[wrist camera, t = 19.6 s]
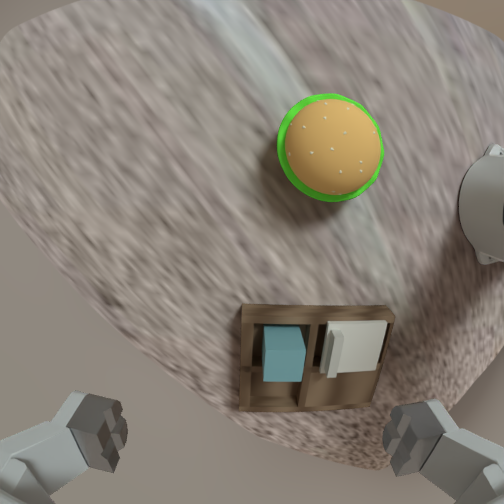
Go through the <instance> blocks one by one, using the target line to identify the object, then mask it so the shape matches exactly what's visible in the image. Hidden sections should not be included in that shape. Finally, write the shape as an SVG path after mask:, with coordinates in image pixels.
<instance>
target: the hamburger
mask: <svg viewBox="0 0 504 504" xmlns="http://www.w3.org/2000/svg"><path fill="white" fill-rule="evenodd" d="M277 154H278V158H279V162H280V164H281V167H282V169H283V171H284V173H285V175H286V176H287V178H288V179H289V180H290V182H291V183H292V184H293V185H294V186H295V187H296V188H297V189H299V190H300V191H301V192H303V193H304V194H306V195H308V196H310V197H312V198H314V199H317V200H321V201H326V202H339V201H345V200H349V199H352V198H355V197H357V196H359V195H360V194H361V193H363V192H364V191H365V190H366V189H367V188H368V187H369V186H370V185H371V184H373V182H374V181H375V180H376V178H377V176H378V173H379V170H380V167H381V164H382V161H383V157H384V148H383V143H382V138H381V133H380V129H379V126H378V125H377V123H376V122H375V121H374V119H373V118H372V117H371V116H370V114H369V113H368V112H367V111H366V109H365V108H364V107H363V106H362V105H361V104H359V103H357V102H355V101H353V100H351V99H348V98H346V97H344V96H341V95H338V94H319V95H313V96H309V97H307V98H305V99H303V100H301V101H300V102H298V103H297V104H296V105H294V106H293V107H292V108H291V109H290V110H289V111H288V113H287V114H286V115H285V117H284V119H283V121H282V122H281V125H280V127H279V131H278V136H277Z"/></svg>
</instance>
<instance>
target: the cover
mask: <svg viewBox="0 0 504 504" xmlns="http://www.w3.org/2000/svg"><path fill="white" fill-rule="evenodd" d="M386 327H387V322H386V320H372V321H327V327H326V333H325V339H324V345H323V351H322V357H321V362H320V368H319V371H320V373H326V376H327V378H334V377H336V375H337V373H342V372H359V371H373V370H376V366H377V362H378V359H379V355H380V351H381V348H382V344H383V340H384V336H385V331H386Z"/></svg>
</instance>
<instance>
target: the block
mask: <svg viewBox="0 0 504 504" xmlns="http://www.w3.org/2000/svg"><path fill="white" fill-rule="evenodd" d="M305 355H306V348H305V345H304V341H303V338H302V334H301V331H300V327H299V324H263V338H262V366H263V381H266V382H301V380H302V374H303V368H304V361H305Z"/></svg>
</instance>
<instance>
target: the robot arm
mask: <svg viewBox="0 0 504 504" xmlns="http://www.w3.org/2000/svg"><path fill="white" fill-rule="evenodd" d="M499 154H500V155H499ZM459 216H460V222H461V226H462V229H463V231H464V234H465V236H466V237H467V239H468V241H469V242H470V243H471V244H472V246H473V247H474V249H475V253H476V257H477V260H478V262H479V263H480V264H483V265H487V264H491V263H495V262H498V261H502V262H504V149H503V148H502V147H500V146H499V145H497V144H491V145H490V146H489V147H488V149H487V151H486V153H485V155H484V156H483V157H482V158H481V159H479V160H478V161H476V162H475V163H474V164H473V165H472V166H471V167H470V169H469V170H468V172H467V174H466V175H465V178H464V180H463V183H462V186H461V191H460V197H459ZM122 410H123V409H122V406H121V403H120V402H119V401H118V400H114V399H110V398H105V397H101V396H97V395H93V394H88V393H84V392H80V391H76V390H75V391H73V392H72V393H71V394H70V395H69V397H68V398H67V399H66V401H65V402H64V404H63V405H62V407H61V408H60V409H59V411H58V412H57V414H56V415H55V416H54V418H53V419H52V421H51V422H49V421H45V422H43V423H41V424H39V425H36V426H34V427H32V428H29V429H27V430H25V431H22V432H20V433H17V434H15V435H13V436H10V437H8V438H5V439H3V440H1V441H0V504H55V503H54V501H52V499H51V498H50V495H51V494H53V493H54V492H56V491H57V490H58V489H60V488H61V487H63V486H64V485H66V484H67V483H68V482H70V481H71V480H73V479H74V478H76V477H77V476H79V475H80V474H81V473H83V472H84V471H85V470H87V469H88V467H91V468H95V469H99V470H103V471H107V472H111V473H114V471H115V468H116V466H117V463H118V461H119V459H120V457H119V454H118V452H117V451H119V450H120V449H122V448H123V447H124V446H125V443H126V441H127V434H128V429H127V423H126V420H125V419H124V418H123V417H122V416H121V412H122ZM390 416H391V418H392V420H391V421H390V422H389V423H388V424H387V425H386V426H385V429H384V431H383V446H384V449H385V451H386V452H387V453H388V454H390V455H392V458H391V460H390V463H391V465H392V468H393V470H394V473H395V475H396V477H397V476H402V475H406V474H411V473H415V472H419V471H420V472H419V473H420V474H422V475H423V476H424V477H425V478H427V479H428V480H429V481H431V482H432V483H433V484H435V485H436V486H437V487H439V488H440V489H442V490H443V491H444V492H445V493H447V494H448V495H449V496H451V497H452V498H453V499H455V500H456V502H455V503H454V504H504V447H501V446H499V445H497V444H495V443H493V442H491V441H488V440H486V439H484V438H482V437H480V436H478V435H476V434H474V433H472V432H469V431H467V430H465V429H463V428H462V429H459V428H458V427H457V425H456V424H455V422H454V421H453V419H452V418H451V417H450V415H449V414H448V412H447V411H446V409H445V408H444V407H443V405H442V404H441V402H440V401H439V400H437V399H431V400H426V401H422V402H416V403H411V404H405V405H399V406H395V407H394V408H393V409H392V412H391V414H390Z"/></svg>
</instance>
